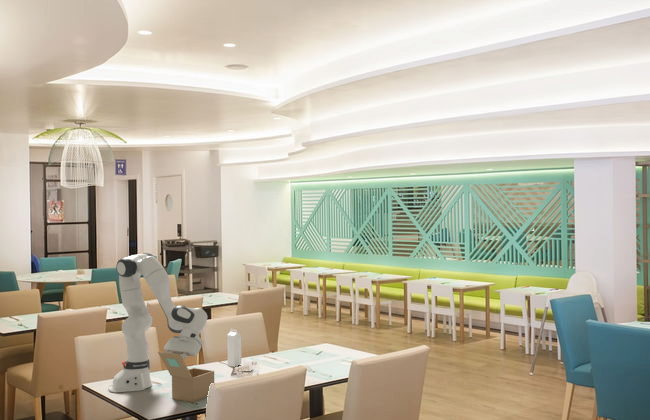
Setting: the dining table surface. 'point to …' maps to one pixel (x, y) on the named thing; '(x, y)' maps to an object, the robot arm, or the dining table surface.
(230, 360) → the milk
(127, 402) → the dining table surface
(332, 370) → the dining table surface
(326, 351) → the dining table surface
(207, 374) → the carton
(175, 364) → the lid flap
